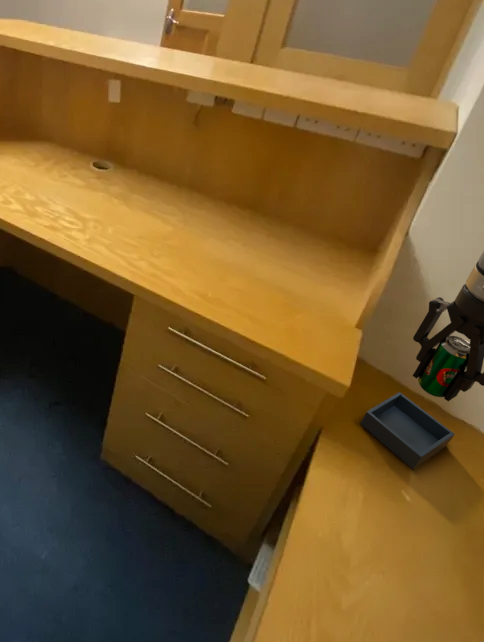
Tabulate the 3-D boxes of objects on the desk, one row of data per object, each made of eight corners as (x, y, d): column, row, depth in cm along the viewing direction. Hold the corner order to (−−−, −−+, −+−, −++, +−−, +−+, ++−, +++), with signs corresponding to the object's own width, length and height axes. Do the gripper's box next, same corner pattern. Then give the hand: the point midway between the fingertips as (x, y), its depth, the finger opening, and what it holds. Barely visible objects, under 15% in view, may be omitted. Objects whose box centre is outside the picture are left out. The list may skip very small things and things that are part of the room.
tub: (446, 446, 104) (455, 433, 102) (413, 469, 99) (421, 457, 97) (392, 403, 112) (399, 391, 110) (359, 423, 108) (366, 411, 106)
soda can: (423, 373, 101) (448, 329, 95) (452, 390, 97) (481, 346, 91) (412, 385, 98) (438, 342, 92) (442, 403, 95) (471, 359, 88)
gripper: (422, 269, 91) (376, 359, 103) (545, 337, 77) (475, 431, 89) (446, 258, 94) (399, 346, 106) (569, 322, 80) (498, 415, 92)
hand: (434, 385), depth 97 cm, fingers closed on soda can, 5 cm apart
